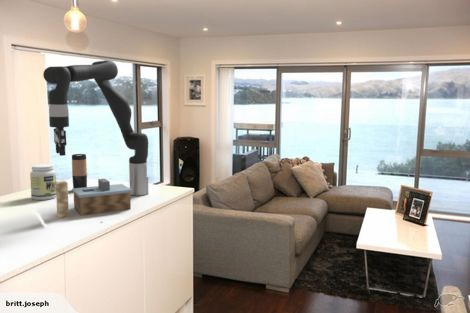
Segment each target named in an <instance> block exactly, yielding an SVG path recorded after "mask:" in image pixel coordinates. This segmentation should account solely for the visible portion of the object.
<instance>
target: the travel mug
mask: <svg viewBox="0 0 470 313" xmlns="http://www.w3.org/2000/svg"><path fill="white" fill-rule="evenodd" d="M87 166H88V165H87V154H86V153H74V154H71V170H72V171H71V174H72V189H74V188H84V187H88V172H87V171H88V168H87Z"/></svg>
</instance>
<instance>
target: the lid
mask: <svg viewBox="0 0 470 313" xmlns="http://www.w3.org/2000/svg"><path fill="white" fill-rule="evenodd" d="M97 180H98V182H97V185H95V186H87V187H84V188H74V189H73V188H71V191H72V192H73V194H74V193H75V194H76V195H77V196H78V197H79V198H83V197H92V196H102V195H111V194H120V193H129V192H132V190H131V189H130V187H129V186H126V185H124V184H122V183H118V184H117V183H116V184H115V183H114V184H110V180H108V179H106V178H98V179H97Z"/></svg>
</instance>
